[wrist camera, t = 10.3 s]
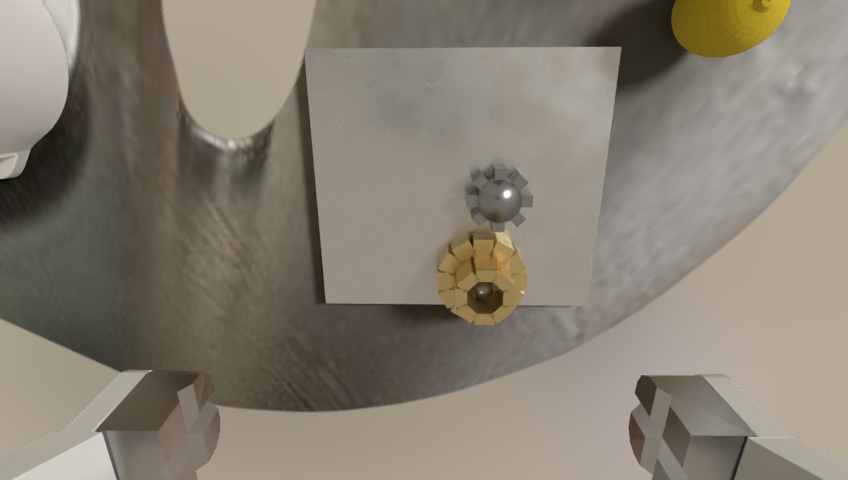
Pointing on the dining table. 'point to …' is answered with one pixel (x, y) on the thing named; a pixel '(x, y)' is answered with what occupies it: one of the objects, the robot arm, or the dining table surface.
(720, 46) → the lemon
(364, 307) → the dining table surface
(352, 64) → the plate
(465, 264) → the gear
